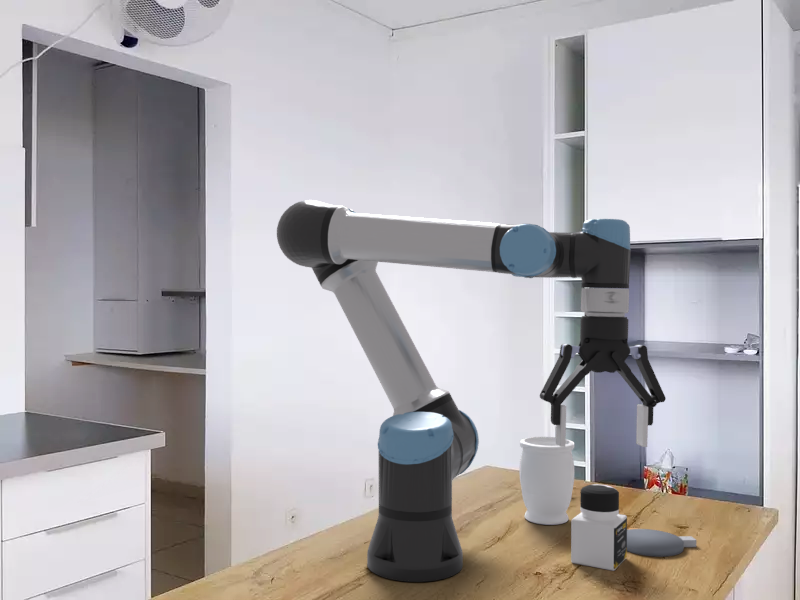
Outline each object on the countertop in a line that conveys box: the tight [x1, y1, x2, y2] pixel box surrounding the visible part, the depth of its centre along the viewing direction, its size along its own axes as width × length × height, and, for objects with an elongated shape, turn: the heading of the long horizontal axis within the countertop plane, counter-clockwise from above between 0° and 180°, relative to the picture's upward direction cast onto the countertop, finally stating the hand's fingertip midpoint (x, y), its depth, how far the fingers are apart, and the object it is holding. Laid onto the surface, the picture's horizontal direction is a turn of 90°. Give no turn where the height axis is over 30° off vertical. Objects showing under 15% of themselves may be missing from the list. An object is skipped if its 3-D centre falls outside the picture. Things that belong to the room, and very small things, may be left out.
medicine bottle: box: [570, 483, 628, 571], centre depth 125 cm, size 7×7×12 cm
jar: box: [518, 436, 575, 526], centre depth 148 cm, size 11×10×15 cm
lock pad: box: [627, 527, 697, 557], centre depth 134 cm, size 16×13×1 cm
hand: (601, 445), depth 126 cm, fingers open, 13 cm apart
